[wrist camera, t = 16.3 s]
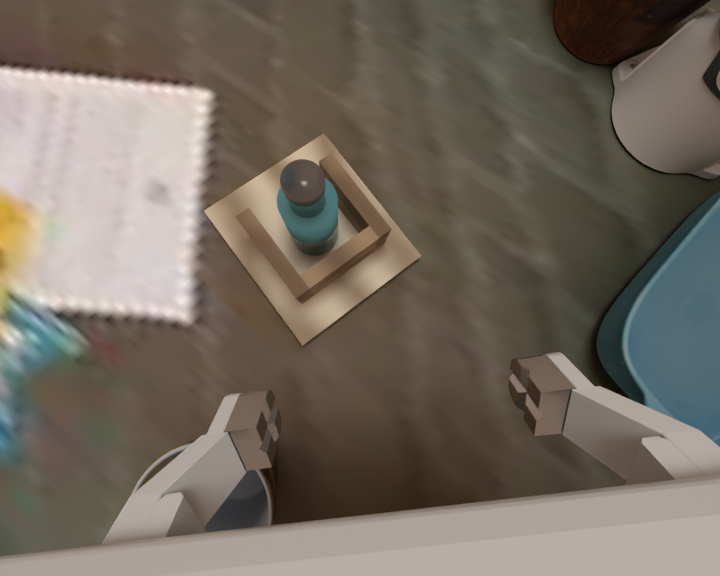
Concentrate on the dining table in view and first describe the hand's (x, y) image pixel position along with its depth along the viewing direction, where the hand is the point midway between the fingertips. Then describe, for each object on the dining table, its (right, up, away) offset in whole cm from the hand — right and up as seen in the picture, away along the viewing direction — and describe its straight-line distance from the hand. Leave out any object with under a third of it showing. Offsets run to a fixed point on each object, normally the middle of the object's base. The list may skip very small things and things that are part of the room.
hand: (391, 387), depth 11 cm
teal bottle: (-6, +9, +24) cm, 26 cm away
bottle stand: (-6, +9, +25) cm, 27 cm away
